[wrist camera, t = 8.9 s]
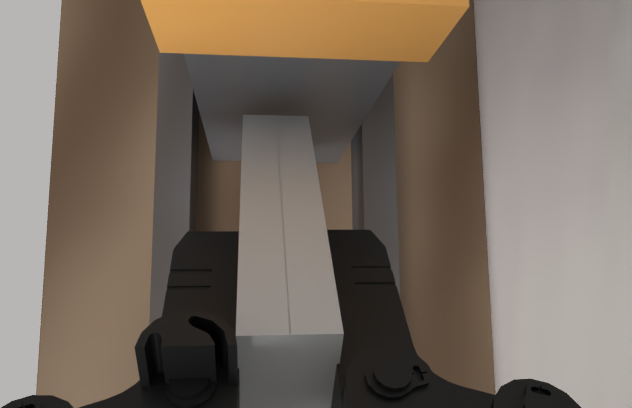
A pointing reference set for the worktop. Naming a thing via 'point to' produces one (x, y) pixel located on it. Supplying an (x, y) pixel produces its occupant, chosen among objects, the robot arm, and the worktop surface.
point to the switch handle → (296, 59)
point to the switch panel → (224, 199)
